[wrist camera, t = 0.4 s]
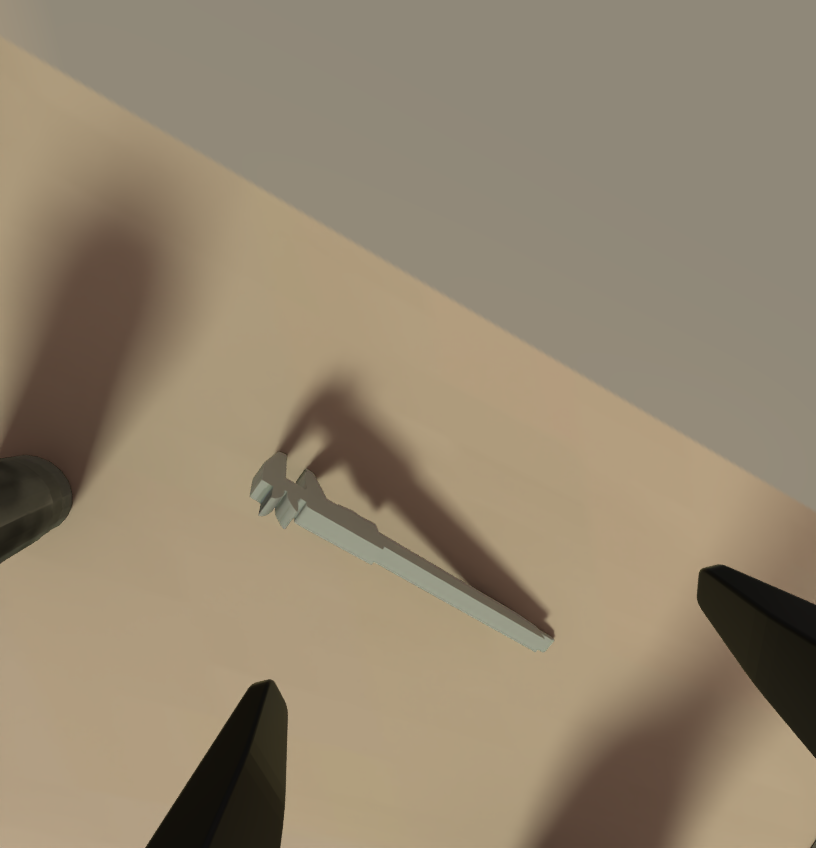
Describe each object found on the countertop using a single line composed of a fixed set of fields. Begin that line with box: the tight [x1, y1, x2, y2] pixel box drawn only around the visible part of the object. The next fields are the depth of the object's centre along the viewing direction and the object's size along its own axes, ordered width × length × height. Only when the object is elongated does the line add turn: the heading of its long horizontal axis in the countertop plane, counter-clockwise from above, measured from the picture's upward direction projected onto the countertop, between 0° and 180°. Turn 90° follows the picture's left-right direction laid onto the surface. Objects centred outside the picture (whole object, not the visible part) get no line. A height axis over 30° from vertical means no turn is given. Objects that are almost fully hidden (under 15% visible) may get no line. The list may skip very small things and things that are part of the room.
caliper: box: [250, 452, 554, 652], centre depth 22 cm, size 20×1×6 cm, turn 53°
